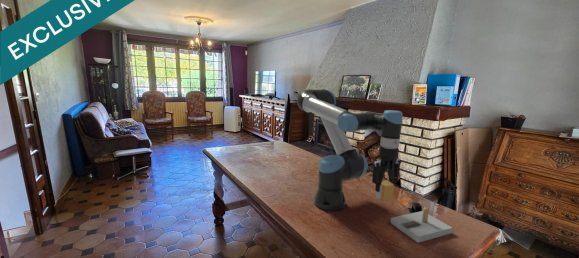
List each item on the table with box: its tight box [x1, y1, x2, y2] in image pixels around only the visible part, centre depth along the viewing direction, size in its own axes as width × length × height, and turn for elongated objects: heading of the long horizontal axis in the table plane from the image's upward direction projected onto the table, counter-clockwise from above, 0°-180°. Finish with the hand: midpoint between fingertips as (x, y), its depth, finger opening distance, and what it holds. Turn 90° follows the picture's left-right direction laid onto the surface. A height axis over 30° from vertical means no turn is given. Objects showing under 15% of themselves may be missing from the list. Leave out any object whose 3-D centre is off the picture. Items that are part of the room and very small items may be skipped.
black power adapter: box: [407, 201, 423, 214], centre depth 115 cm, size 12×7×5 cm, turn 173°
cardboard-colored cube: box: [379, 180, 395, 202], centre depth 110 cm, size 5×5×7 cm
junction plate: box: [390, 206, 453, 244], centre depth 102 cm, size 18×14×8 cm
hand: (383, 196), depth 111 cm, fingers closed on cardboard-colored cube, 5 cm apart
